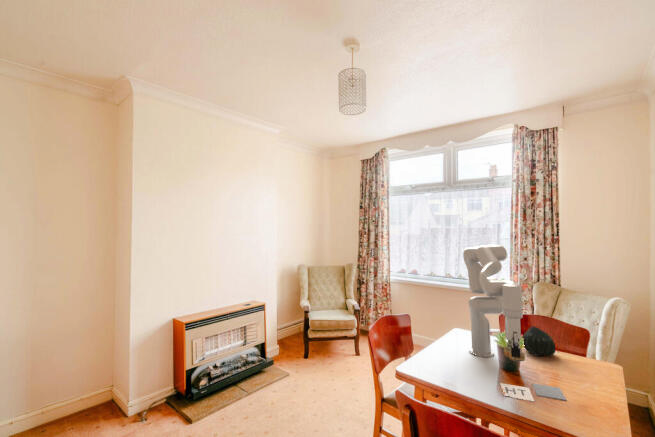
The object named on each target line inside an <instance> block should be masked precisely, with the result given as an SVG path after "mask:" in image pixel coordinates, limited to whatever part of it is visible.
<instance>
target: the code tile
mask: <svg viewBox="0 0 655 437" xmlns="http://www.w3.org/2000/svg"><path fill="white" fill-rule="evenodd" d="M500 388H501V390H502V389H504V390H503V392H506V393H507V396H510V397H509V398H511V397H512V399H516V398H518V400H522V399H523V401H527V402H535V399H534V397H533V394H532V392H531V389H530V387H526V386H521V385H512V384H508V383H502V382H500ZM508 391H510V393H509V392H508ZM503 392H502V393H503ZM505 396H506V395H505ZM505 396H504V397H505Z"/></svg>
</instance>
